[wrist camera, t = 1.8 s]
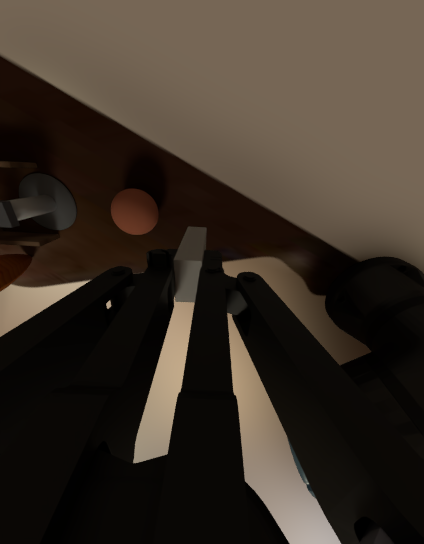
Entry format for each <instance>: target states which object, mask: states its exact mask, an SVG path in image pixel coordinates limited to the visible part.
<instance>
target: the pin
mask: <svg viewBox="0 0 424 544" xmlns="http://www.w3.org/2000/svg"><path fill="white" fill-rule="evenodd" d="M55 210H56V203H55V201H54V199H53V198H51V197H50V196H48V195H40V196H34V197H27V198H21V199H15V200H8V201H0V227H8V228H13V227H16V226H20V225H19V222H18V221H19V220H23V219H27V218H31V217H34V216H38V215H42V214H46V213H49V212H53V211H55Z"/></svg>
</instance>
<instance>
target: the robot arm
mask: <svg viewBox="0 0 424 544" xmlns="http://www.w3.org/2000/svg"><path fill="white" fill-rule="evenodd" d="M146 254H147V263H148V268H147V269H146V271H145V272H144V273H139V274H132V269H131V268H129V267H123V266H118V267H115V268H111V269H109V270H107V271H105V272H104V273H102V274H101V275H99V276H97V277H96V278H94V279H93V280H91V281H89V282H88V283H86V284H85V285H83V286H81V287H80V288H78V289H77V290H75V291H73V292H72V293H70V294H69V295H67V296H65V297H64V298H62V299H60V300H59V301H57V302H56V303H54V304H52V305H51V306H49V307H48V308H46V309H44V310H43V311H41V312H40V313H38V314H36V315H35V316H33V317H32V318H30V319H29V320H27V321H25V322H24V323H22V324H20V325H19V326H18V327H16V328H14V329H12V330H11V331H9V332H8V333H6V334H4V335H3V336H1V337H0V544H289V542H288V540H287V539H286V537H285V536H284V534H283V532H282V531H281V529H280V528H279V526H278V524H277V523H276V521H275V519H274V518H273V516H272V515H271V513H270V511H269V510H268V508H267V507H266V505H265V504H264V503H263V501H262V500H261V499H260V497H259V496H258V495H257V494H256V492H255V491H254V490H253V489H252V488H251V487H250V486H249V485H248V484H247V483H246V482H245V479H244V467H243V456H242V446H241V434H240V423H239V412H238V404H237V399H236V396H235V395H234V393H233V383H232V370H231V359H230V344H229V331H228V318H227V313H230V314H232V318H233V320H234V323H235V325H236V327H237V329H238V331H239V333H240V336H241V338H242V340H243V342H244V344H245V346H246V348H247V350H248V353H249V355H250V357H251V359H252V362H253V363H254V366H255V368H256V370H257V372H258V374H259V376H260V379H261V381H262V383H263V385H264V387H265V390H266V392H267V394H268V396H269V398H270V400H271V402H272V405H273V407H274V409H275V411H276V413H277V415H278V417H279V420H280V422H281V424H282V426H283V428H284V431H285V432H286V435H287V437H288V441H289V445H290V449H291V452H292V455H293V458H294V461H295V463H296V466H297V469H298V471H299V474H300V476H301V478H302V480H303V481H304V483H306V485H307V488H308V490H309V492H310V493H311V494H312V496H313V497H315V498H316V499H317V501H318V503H319V505H320V506H321V508H322V510H323V512H324V514H325V516H326V518H327V520H328V522H329V523H330V525H331V526H332V528H333V530H334V532H335V533H336V535H337V537H338V539H339V540H340V542H341V544H424V274H423V273H422V272H421V271H420V270H419V269H418V268H416V267H415V266H413V265H411V264H409V263H407V262H405V261H403V260H401V259H398V258H394V257H376V258H371V259H368V260H365V261H362V262H359V263H357V264H355V265H353V266H352V267H350V268H348V269H347V270H346V271H344V272H343V273H342V274H341V275H340V276H339V277H338V278H337V279H336V280H335V281H334V282H333V283H332V285H331V286H330V288H329V290H328V292H327V295H326V299H325V308H326V312H327V313H328V315H329V317H330V318H331V319H332V320H333V322H334V323H335V325H337V326H338V327H339V328H340V329H341V330H343V331H344V332H346V333H347V334H349V335H351V336H352V337H353V338H355V339H357V340H358V341H360V342H361V343H363V344H364V345H366V346H367V347H368V348H369V349H370V350H371V353H368V354H366V355H364V356H361V357H359V358H356V359H354V360H351V361H349V362H347V363H344V364H342V365H339V364H338V363H337V362H336V361H335V360H334V359H333V358H332V357H331V355H330V354H329V353H328V352H327V351H326V350H325V348H324V347H323V346H322V345H321V344H320V343H319V342H318V341H317V339H316V338H314V336H313V335H312V334H311V333H310V332H309V330H308V329H307V328H306V327H305V326H304V325H303V324H302V323H301V322H300V320H299V319H298V318H297V317H296V316H295V315H294V313H293V312H292V311H291V310H290V309H289V308H288V307H287V306H286V304H285V303H284V302H283V301H282V300H281V299H280V298H279V297H278V295H277V294H276V293H275V292H274V291H273V290H272V289H271V287H269V285H268V284H267V283H266V282H265V281H264V280H263V278H262V277H261V276H259V275H258V274H255V273H253V272H242V273H239V274H238V275H237V278H234V277H230V276H228V275H226V274H225V273H224V270H223V268H222V255H221V253H220V252H219V251H210V250H206V228H205V227H188V228H187V231H186V233H185V235H184V237H183V240H182V242H181V244H180V246H179V249H167V250H165V249H155V250H151V251H148V252H147V253H146ZM174 297H175V300H176V302H195V305H194V311H193V318H192V324H191V330H190V337H189V343H188V350H187V356H186V363H185V370H184V376H183V382H182V388H181V392H180V393H179V394H178V397H177V402H176V408H175V413H174V419H173V425H172V431H171V437H170V443H169V450H168V454H167V455H164V456H160V457H157V458H153V459H150V460H146V461H143V462H139V463H133V459H134V449H135V441H136V436H137V433H138V429H139V426H140V422H141V419H142V415H143V412H144V409H145V405H146V402H147V398H148V395H149V391H150V388H151V384H152V381H153V377H154V374H155V371H156V367H157V363H158V360H159V357H160V353H161V349H162V346H163V343H164V339H165V336H166V333H167V329H168V326H169V322H170V318H171V315H172V312H173V308H174ZM109 300H110V301H111V307H110V308H109V309H107V306H106V303H107V302H108V301H109Z"/></svg>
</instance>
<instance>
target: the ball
mask: <svg viewBox="0 0 424 544" xmlns="http://www.w3.org/2000/svg"><path fill="white" fill-rule="evenodd" d="M111 214H112V218H113V220H114V222H115V223H116V225H117V226H118V227H119V228H120V229H122V230H123V231H125V232H127V233H129V234H133V235H141V234H145V233H147V232H149V231H150V230H152V229H153V228H154V226H155V225H156V223H157V220H158V208H157V205H156V203H155V201H154V200H153V198H152V197H151V196H150V195H149V194H147V193H146V192H144V191H142V190H139V189H125V190H123V191H121V192H119V193H118V194H117V195H116V196H115V198H114V199H113V201H112V204H111Z"/></svg>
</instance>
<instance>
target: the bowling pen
mask: <svg viewBox="0 0 424 544" xmlns="http://www.w3.org/2000/svg"><path fill="white" fill-rule="evenodd" d="M0 167H8V168H38V167H37V164H36V163H31V162H13V161H0ZM58 238H60V237H59V234H49V233H30V232H11V231H3V229H2V227H0V244H6V245H25V246H42V245H44V244H47V243H49V242H51V241H53V240H56V239H58Z"/></svg>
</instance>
